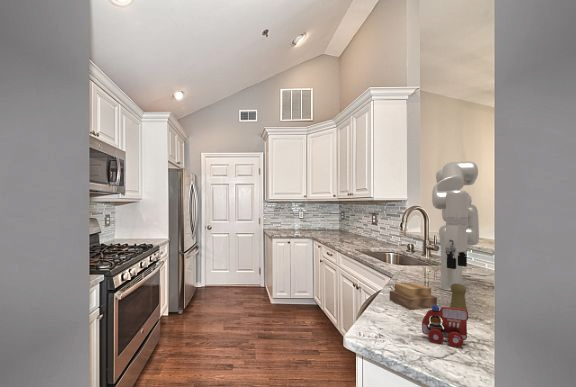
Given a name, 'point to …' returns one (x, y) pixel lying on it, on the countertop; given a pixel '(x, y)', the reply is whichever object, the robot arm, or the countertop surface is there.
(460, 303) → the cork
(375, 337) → the countertop surface
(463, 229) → the robot arm
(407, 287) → the stepped wooden base
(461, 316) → the toy fire truck
